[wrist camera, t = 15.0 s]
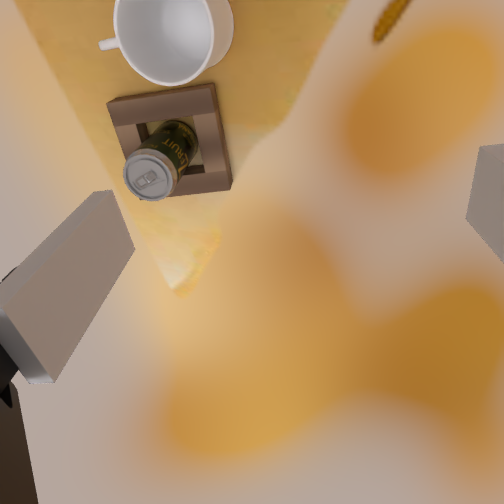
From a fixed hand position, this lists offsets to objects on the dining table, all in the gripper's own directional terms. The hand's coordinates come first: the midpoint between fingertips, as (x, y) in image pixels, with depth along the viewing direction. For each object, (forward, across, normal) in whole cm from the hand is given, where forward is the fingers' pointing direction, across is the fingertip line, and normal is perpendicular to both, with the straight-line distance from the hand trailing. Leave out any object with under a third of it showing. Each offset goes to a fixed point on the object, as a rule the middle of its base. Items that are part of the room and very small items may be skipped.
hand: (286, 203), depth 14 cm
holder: (+33, -14, -6) cm, 36 cm away
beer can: (+33, -14, -6) cm, 36 cm away
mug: (+33, -11, +6) cm, 35 cm away
